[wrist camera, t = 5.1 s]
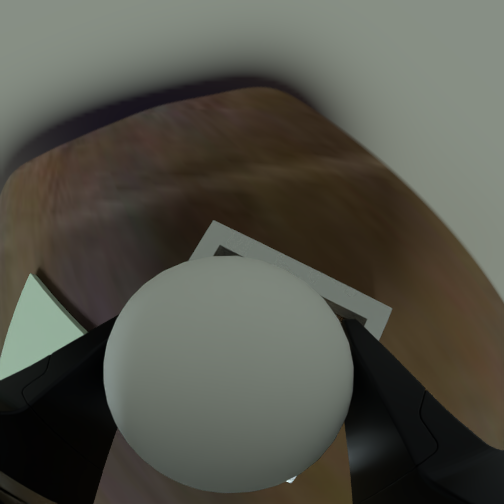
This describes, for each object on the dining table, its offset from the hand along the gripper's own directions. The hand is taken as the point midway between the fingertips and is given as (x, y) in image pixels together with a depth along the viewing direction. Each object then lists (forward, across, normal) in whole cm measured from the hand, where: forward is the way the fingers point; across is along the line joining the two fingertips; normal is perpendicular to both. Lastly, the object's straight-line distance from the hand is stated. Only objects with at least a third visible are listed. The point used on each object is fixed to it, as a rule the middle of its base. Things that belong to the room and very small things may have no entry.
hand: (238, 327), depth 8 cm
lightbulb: (+4, 0, +6) cm, 7 cm away
